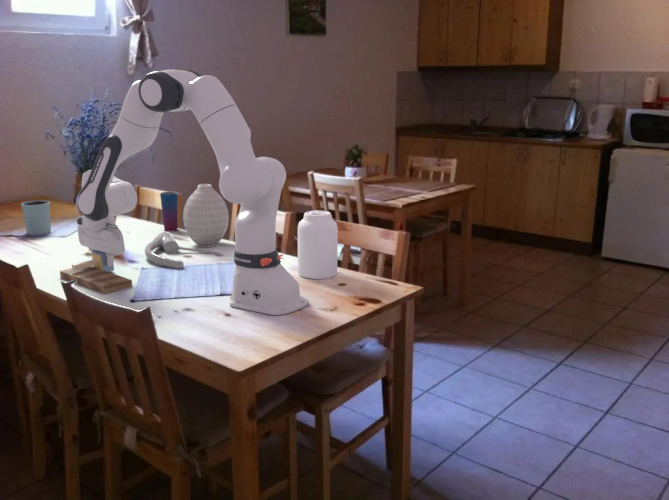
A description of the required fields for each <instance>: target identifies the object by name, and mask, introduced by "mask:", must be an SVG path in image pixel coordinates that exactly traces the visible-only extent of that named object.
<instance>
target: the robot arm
mask: <svg viewBox="0 0 669 500" xmlns="http://www.w3.org/2000/svg"><path fill="white" fill-rule="evenodd" d="M189 110H190V111H191V112H192V113H193V115H194V116H195V118H196V120H197V122H198V124H199V127H201V129H202V131H203V133H204V134H205V136H206V138H207V140H208V142H209V144H210V147H211V148H212V149H213V150H212V151H214V155H215V157H216V161H217V164H218V169H219V176H220V177H219V181H218V187H219V191H220V193H221V195H222V198H223V199H225V200H226V201H227V202H229V203H231V204H235V205H237V204H238V205H240V209H239V211H238V214H237V216H236V218H235V221H234V242H235V243H234V245H235V247H234V250H233V262H234V265H235V268H234V273H233V281H232V291H231V296H230V302H229V304H230V305H229V306H230V307H233V308H237V309H240V310H241V309H242V310H247V311H251V312H256V313H260V314H261V313H262V314H267V315H271V316H280V315H286V314H289V313H293V312H296V311H298V310H300V309H303V308H305V307H306V306H308V304H309V299H308V298H306V297H304V296H302V295H300V294H301V293H300V292H301V291H300V285H299V282H298V281H297V280H296V279H295V278H294V276H292V274H291V273H290V272H289V271H288V270H287V269H286V268H285V267H284V266H283V265H282V263H281V262H282V261H281V260H282V259H284V254H279V252H278V249H277V248H276V242H277V241H276V231H277V230H276V227H277V223H276V222H277V214H278V209H279V205H280V200H281V193H282V190H283V187H284V185H285V182H286V179H287V171H286V168H285V166H284V165H283V163H282V162H281V161H279V160H278V159H276V158H273V157H270V156H268V157H267V156H259V157H256V155H255V153H254V149H253V146H252V140H251V136H252V133H251V132H252V131H251V129H250V127H249V126H248V124H247V121H246V120H245V118H244V116H243V115H242V113H241V111H240V108H239V107H238V105H237V104H236V102H235V100H234V99H233V97H232V95H231V94H230V93H229V91H228V90H227V88H226V87H225V86H224V84H223V83H222V82H221V81H220V80H219V79H218V78H217V77H216V76H213V75H211V74H210V75H209V74H208V75H202V74H201V73H199V72H197V71H195V70H190V69H188V70H187V69H186V70H182V69H174V68H173V69H164V70H154V71H152V72H149V73H147V74H145V75H144V76H143V77H141V79H140V80H139V79H138V80H136V81H134V82H133V83H132V84H131V85H130V88H129V89H128V92H127V93H126V96H125V97H124V101H123V104H122V106H121V109H120V112H119V117H118V119H117V122H116V123H115V125H114V127H113V129H112V131H111V132H110V134H109V135H108V136H107V138H105V140H104V141H103V142H102V144H101V146H100V149H99V151H98V153H97V156H96V159H95V161H94V164H93V165H92V168H91V169H89V170H85V172H83V173H82V177H81V189H80V191H79V193H78V195H77V203H76V204H77V208H78V210H79V212H80V214H81V216H77V217H76V218H75V222H76V223H75V224H76V225H77V235H78V242H79V243H80V245H81V246H82V247H84V248H85V247H86V248H88V249H90V253H91V254H92V252H94V251H101V252H104V253H106V256H107V260H105V265H106V266H112V265H113V264H114V258H115V256H116V257H117V256H120V255H123V254H125V252H126V248H125V239H124V235H123V232H122V230H121V229H120V228H119V227H118V225H117V224H116V221H115V216H119V215H121V214H125V213H130V212H132V211H134V210H135V209H136V208H137V205H138V202H139V194H138V191H137V188H136V187H135V186H134V185H133V184H132V183H130V181H125V180H122V179H120V178H118V177H116V176H115V173H116V172H117V169H118V167H119V166H120V165H121V164H122V163H123V162H124V161H126V160H127V159H128V158H130V157H132V156H134V155H136V154H137V153H139V152H143V151H145V150H147V149H148V148H150V146H151V145H152V144H153V143H154V141H155V139H156V138H157V135H158V133H159V130H160V126H161V122H162V118H163V115H164V113H167V112H170V113H171V112H175V113H177V112H185V111H189Z"/></svg>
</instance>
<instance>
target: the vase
mask: <svg viewBox="0 0 669 500" xmlns="http://www.w3.org/2000/svg"><path fill="white" fill-rule="evenodd" d="M182 213H183V214H182V218H183V219H182V221H183V226H184V229H185V232H186V233H187V236H188V237H189V238H190V240H192V242H193V243H194V244H195V245H197V247H201V248H209V247H210V248H212V247H214V246H216V245H218V243H220V242H221V241H222V239H223V237H224V236H225V234H226V231H227V229H228V227H229V210H228V206H227V204H226V201H225V200H224V197H223V196H221V195H220V194H219V193H218V191H216V190H215V189H214V188H213V185H212V184H210V183H200V184H198V185H197V188H196V189H195V190H194V191H193V192H192V193H191V195H189V197H188V198H187V200H186V202H185V204H184V208H183V212H182Z"/></svg>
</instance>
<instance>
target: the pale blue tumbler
mask: <svg viewBox="0 0 669 500" xmlns="http://www.w3.org/2000/svg"><path fill="white" fill-rule="evenodd" d="M20 206H21V208H22V214H23V219H24V225H25V231H26V234H27V235H29V236H43V235H49V234H50V233H51V232H52V229H51V201H49V200H30V201H29V200H28V201H24V202H22V203H21V204H20Z"/></svg>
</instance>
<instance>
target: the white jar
mask: <svg viewBox="0 0 669 500" xmlns="http://www.w3.org/2000/svg"><path fill="white" fill-rule="evenodd" d="M338 231H339V228H338V224H337V222H336V221H335V220H334V219H333V215H332V213H331V212H330V211H327V210H319V209H318V210H317V209H316V210H308V211H305V212H304V214H303V218H302V219H301V220H299V222H298V225H297V272H298V276H300V277H303V278H305V279H310V280H312V279H313V280H325V279H329V278H333V277H334V276H336V275H337V273H338V245H339V243H338V239H339V237H338V236H339V235H338V234H339V232H338Z"/></svg>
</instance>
